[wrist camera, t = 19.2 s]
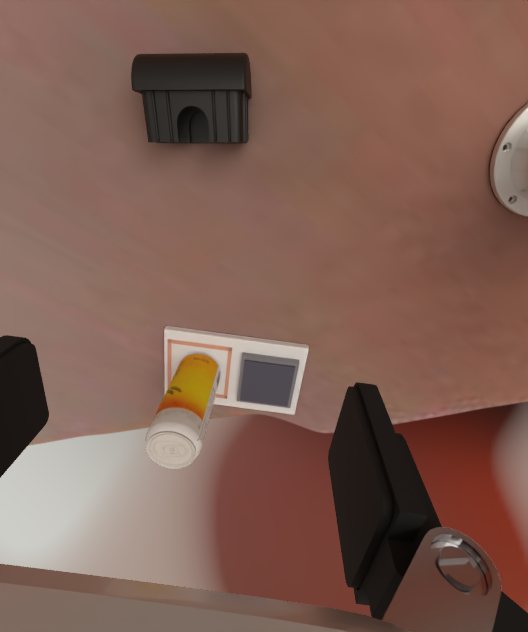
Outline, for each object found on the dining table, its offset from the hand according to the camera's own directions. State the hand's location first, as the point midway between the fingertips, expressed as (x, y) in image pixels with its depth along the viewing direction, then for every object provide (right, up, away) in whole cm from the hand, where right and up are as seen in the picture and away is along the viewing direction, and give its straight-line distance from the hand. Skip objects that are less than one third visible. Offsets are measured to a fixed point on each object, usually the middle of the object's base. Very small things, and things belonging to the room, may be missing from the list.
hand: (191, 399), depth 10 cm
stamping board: (-2, -5, +40) cm, 40 cm away
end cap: (-4, +25, +26) cm, 36 cm away
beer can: (-7, -5, +39) cm, 40 cm away
